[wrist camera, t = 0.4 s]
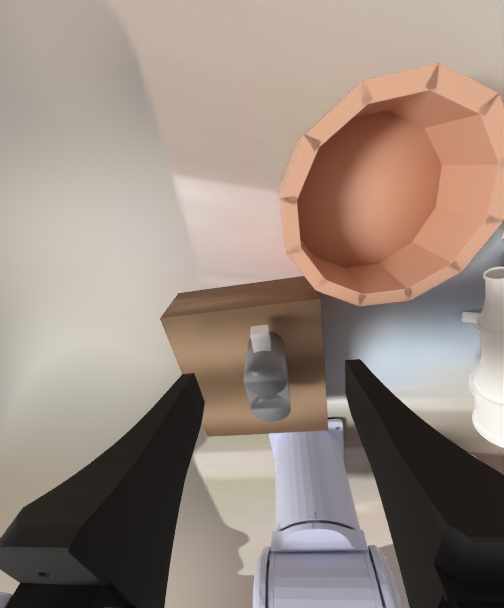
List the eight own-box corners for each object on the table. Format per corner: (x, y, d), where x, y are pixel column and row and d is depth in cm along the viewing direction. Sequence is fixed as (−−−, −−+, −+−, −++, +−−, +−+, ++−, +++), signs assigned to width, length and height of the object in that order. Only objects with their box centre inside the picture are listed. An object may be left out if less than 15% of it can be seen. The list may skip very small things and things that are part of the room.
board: (320, 394, 26) (328, 430, 22) (215, 401, 27) (207, 436, 24) (311, 275, 20) (320, 298, 16) (178, 293, 21) (160, 318, 18)
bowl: (434, 262, 19) (484, 292, 14) (288, 282, 20) (293, 314, 16) (464, 77, 14) (553, 35, 9) (269, 121, 15) (268, 103, 11)
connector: (289, 382, 20) (292, 420, 17) (256, 384, 20) (254, 422, 17) (279, 313, 17) (281, 344, 14) (241, 317, 17) (235, 349, 14)
